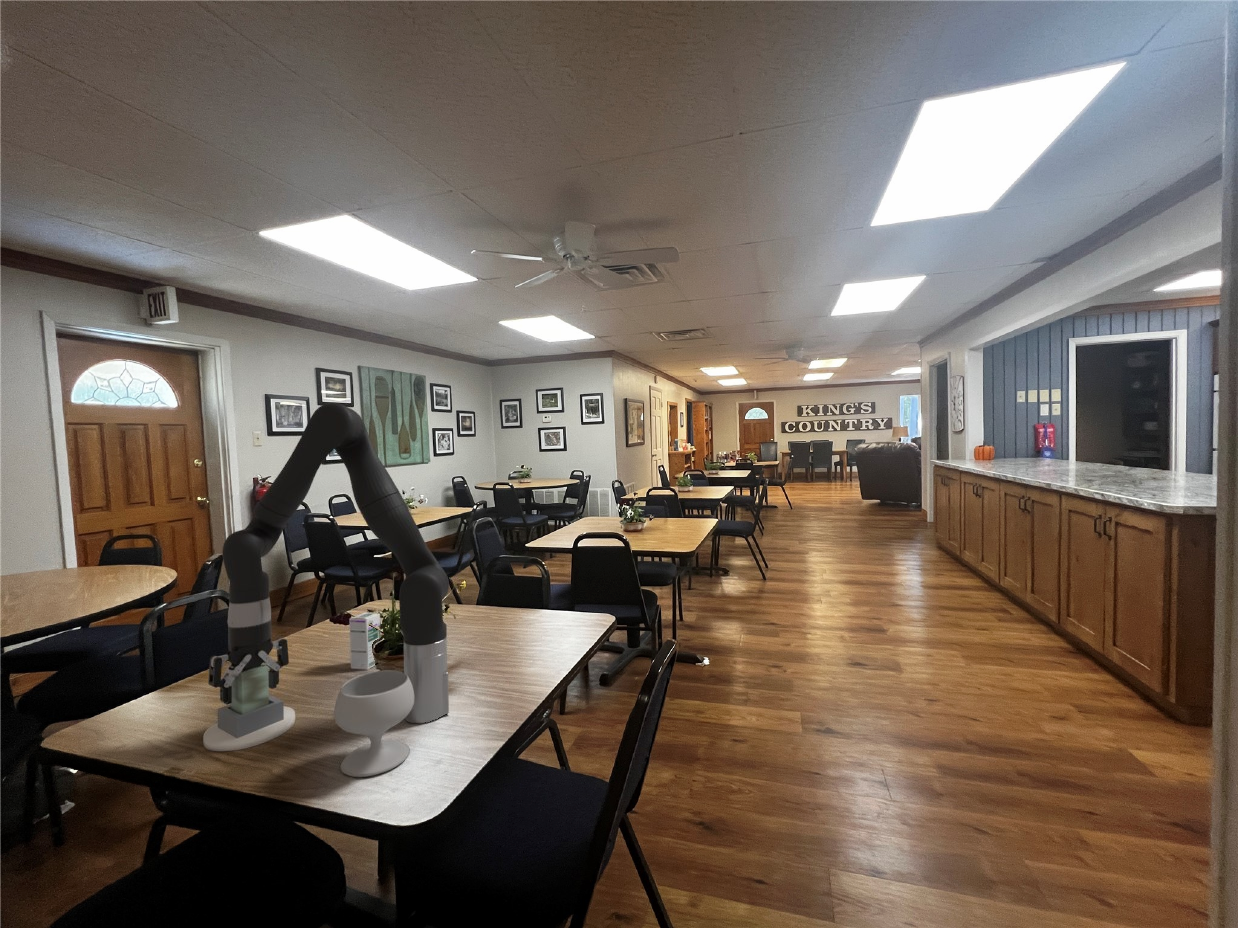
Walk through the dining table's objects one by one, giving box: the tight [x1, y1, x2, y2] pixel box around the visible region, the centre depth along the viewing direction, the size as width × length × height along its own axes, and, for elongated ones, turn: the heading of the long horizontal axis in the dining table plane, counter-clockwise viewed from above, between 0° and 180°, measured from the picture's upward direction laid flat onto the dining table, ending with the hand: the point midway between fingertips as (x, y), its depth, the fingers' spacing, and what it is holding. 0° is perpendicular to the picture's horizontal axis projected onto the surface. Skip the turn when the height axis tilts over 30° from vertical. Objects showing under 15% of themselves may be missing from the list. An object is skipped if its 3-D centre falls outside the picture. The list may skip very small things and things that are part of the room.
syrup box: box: [349, 611, 381, 671], centre depth 144 cm, size 6×6×14 cm
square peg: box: [230, 663, 270, 715], centre depth 109 cm, size 5×5×12 cm
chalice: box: [333, 669, 414, 778], centre depth 97 cm, size 14×14×15 cm
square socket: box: [202, 694, 296, 752], centre depth 109 cm, size 16×16×6 cm
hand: (250, 695), depth 109 cm, fingers open, 8 cm apart
